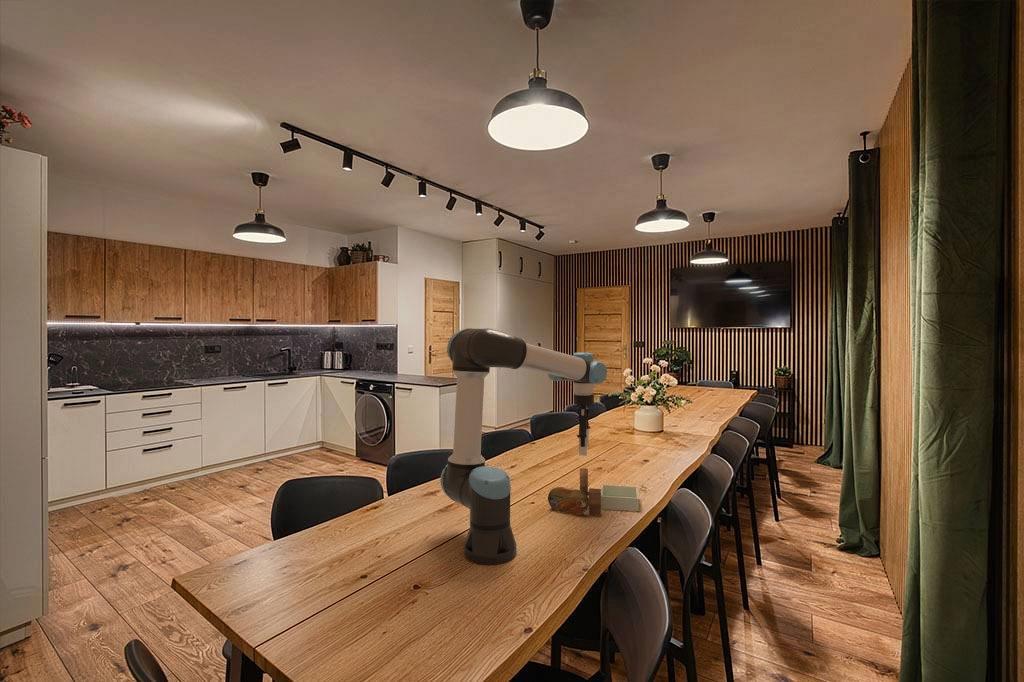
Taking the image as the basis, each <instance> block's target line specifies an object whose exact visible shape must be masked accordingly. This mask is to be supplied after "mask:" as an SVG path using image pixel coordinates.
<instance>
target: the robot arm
mask: <svg viewBox="0 0 1024 682" xmlns="http://www.w3.org/2000/svg"><path fill="white" fill-rule="evenodd" d="M446 348H447V349H446V353H447V355H448V358H449V359H450V361H451V362H452V373H453V374H454V375H455V376H456V390H455V411H454V426H453V428H454V429H453V449H452V454H451V455H450V456H448V458H447V464H446V465H445V467H444V468H443V469H442V471H441V474H440V482H439V483H440V487H441V489H442V491H443V493H444V494H445V495H446V496H447V497H448V498H449V499H450V500H452V501H453V502H456V503H458V504H460V505H462V506H463V507H465V508H468V509H469V528H468V531H467V534H466V538H465V541H464V544H463V555H464V557H465V558H466V559H467V560H468V561H469V562H472V563H474V564H479V565H486V566H487V565H499V564H503V563H507V562H510V561H511V560H512V559H514V558H515V557H516V556H517V542H516V541H517V540H516V538H515V536H514V533H513V530H512V526H511V490H512V487H511V479H510V476H509V474H508V473H507V472H506V471H505V470H504V469H501V468H499V467H493V466H489V465H486V459H485V457H484V456H483V455H482V454H481V451H482V436H483V435H482V432H483V416H484V413H483V410H484V394H485V392H484V391H485V390H484V389H485V378H486V377H487V376H488V375H490V371H491V370H490V368H504V369H505V368H506V369H511V370H518V369H520V368H522V369H526V370H531V371H535V372H540V373H544V374H547V376H548V378H549V379H550V380H552V381H553V382H554V381H557V382H562V381H568V382H573V385H572V386H573V388H572V389H573V405H576V406H579V407H580V408H578V410H577V413H578V425H579V426H578V434H577V435H576V437H577V438H578V439H579V440H578V450H579V451H578V456H582V457H583V456H585V457H587V456H588V447H590V446H589V445H590V437H589V436H590V435H589V434H590V432H589V431H590V430H591V426H590V424H589V418H590V408H589V406H592V405H595V395H594V392H595V389H596V387H597V386H596V385H595V384H597V385H598V384H599V385H600V384H602V383H603V382H605V381H606V379H607V376H608V368H607V365H606V364H605V363H604V362H603V361H598V360H594V354H593V353H591V352H583V351H582V352H574V353H573V355H571V354H567V353H564V352H560V351H556V350H553V349H549V348H546V347H542V346H539V345H534V344H531V343H527V342H526V340H525V339H524V338H522V337H518V336H515V335H512V334H510V333H506V332H503V331H500V330H497V329H493V328H466V329H465V328H464V329H460V330H458V331H456V332H455V333H453V335H451V337H450V338H449V340H448V343H447V347H446ZM594 388H595V389H594Z"/></svg>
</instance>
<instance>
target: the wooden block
mask: <svg viewBox="0 0 1024 682" xmlns="http://www.w3.org/2000/svg"><path fill="white" fill-rule="evenodd" d="M588 490H589V507H588V515H589V516H599V517H600V516H601V515H602V509H601V488H592V487H591V488H590V487H588Z"/></svg>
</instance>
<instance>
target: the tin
mask: <svg viewBox="0 0 1024 682" xmlns="http://www.w3.org/2000/svg"><path fill="white" fill-rule="evenodd" d="M576 489H577V488H569V487H564V486H558V487H554V488H552V489H550V490H549V493H548V495H547V500H548V501H547V502H548V504H549V506H550V508H551V509H552V510H553V511H555V512H557V511H559V513H562V512H563V514H567V513H568V514H569V515H573V516H582V515H583V514H585V513H586V512H587V511H588V510H589V499H588V497H587V495H586V494H585V493H584V492H583V491H581V490H576Z"/></svg>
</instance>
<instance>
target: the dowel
mask: <svg viewBox="0 0 1024 682" xmlns="http://www.w3.org/2000/svg"><path fill="white" fill-rule="evenodd" d="M579 489H580V490H581V491H583V492H584V493H585V494H586V495H587V496H588V490H589V469H588V468H584V467H583V468H579Z"/></svg>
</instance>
